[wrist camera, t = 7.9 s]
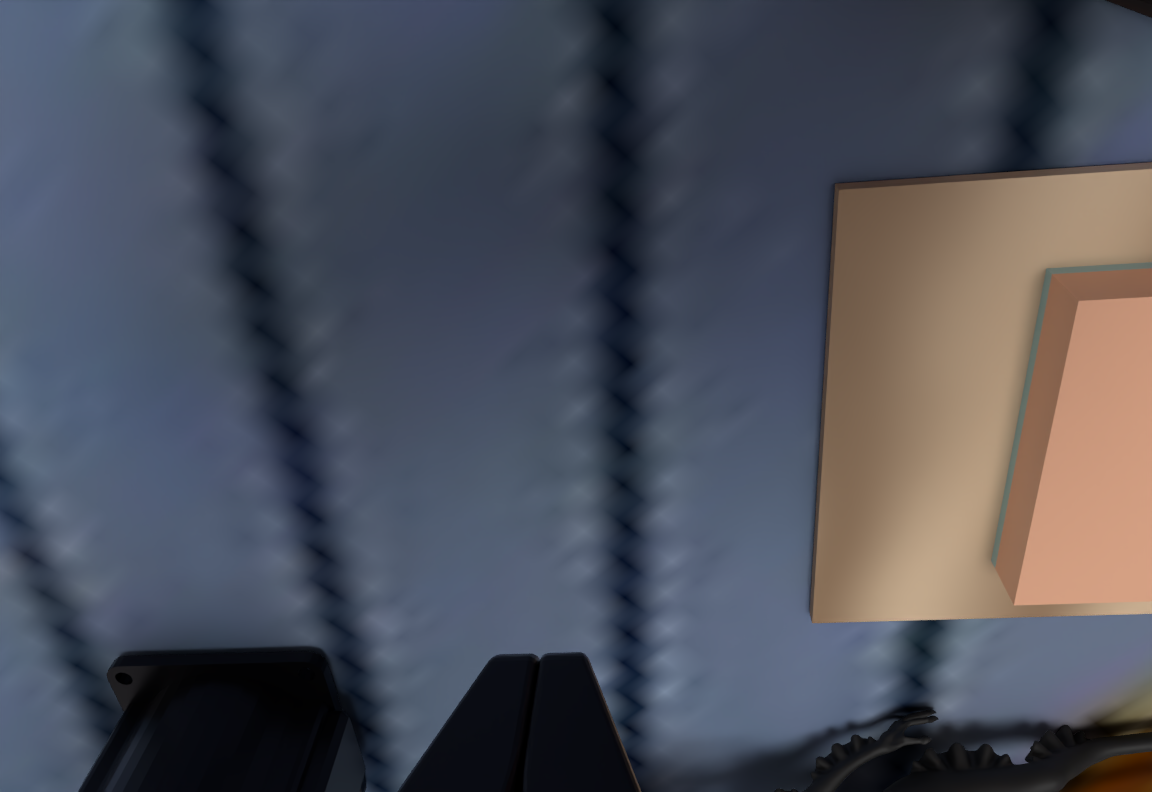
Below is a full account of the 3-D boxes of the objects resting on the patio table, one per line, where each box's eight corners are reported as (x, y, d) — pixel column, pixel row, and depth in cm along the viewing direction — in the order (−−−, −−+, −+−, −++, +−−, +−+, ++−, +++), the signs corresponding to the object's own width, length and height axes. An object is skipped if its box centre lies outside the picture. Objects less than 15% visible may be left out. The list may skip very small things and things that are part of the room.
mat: (809, 612, 25) (812, 622, 25) (834, 183, 19) (839, 189, 19) (1358, 596, 24) (1369, 607, 23) (1575, 133, 18) (1593, 139, 17)
